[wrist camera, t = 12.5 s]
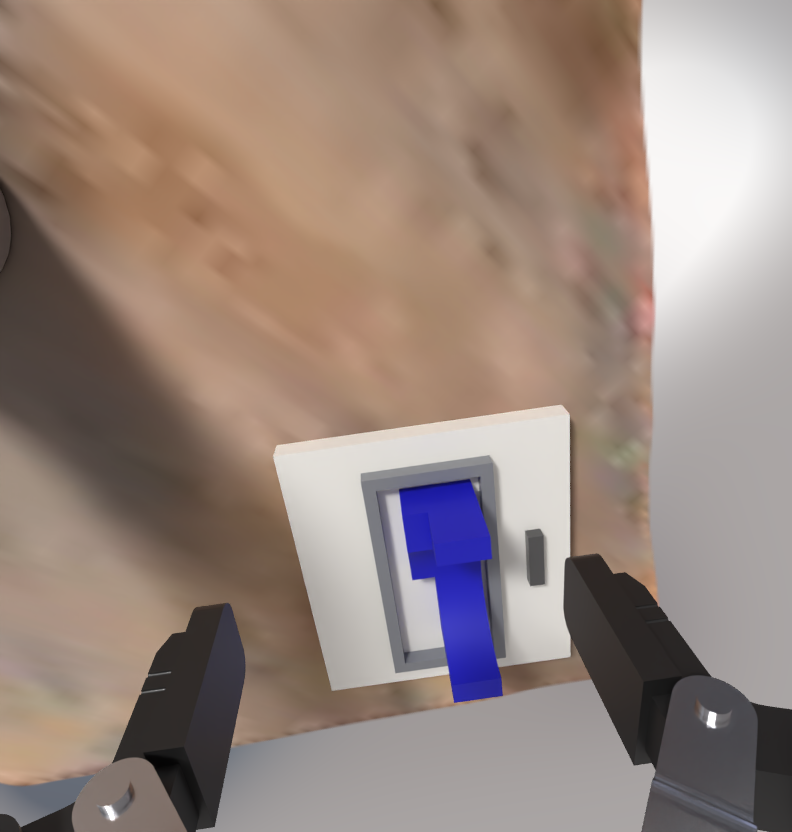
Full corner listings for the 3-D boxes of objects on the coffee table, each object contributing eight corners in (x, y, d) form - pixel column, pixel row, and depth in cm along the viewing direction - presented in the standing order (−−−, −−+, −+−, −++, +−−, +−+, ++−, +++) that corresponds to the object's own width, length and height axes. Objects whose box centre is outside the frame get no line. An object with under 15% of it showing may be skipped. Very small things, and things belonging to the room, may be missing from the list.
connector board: (332, 674, 43) (331, 702, 40) (276, 445, 34) (270, 464, 32) (563, 641, 43) (575, 667, 40) (561, 404, 34) (575, 420, 32)
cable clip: (398, 489, 34) (405, 548, 29) (469, 478, 34) (490, 536, 29) (420, 632, 39) (430, 706, 34) (482, 623, 39) (502, 695, 34)
